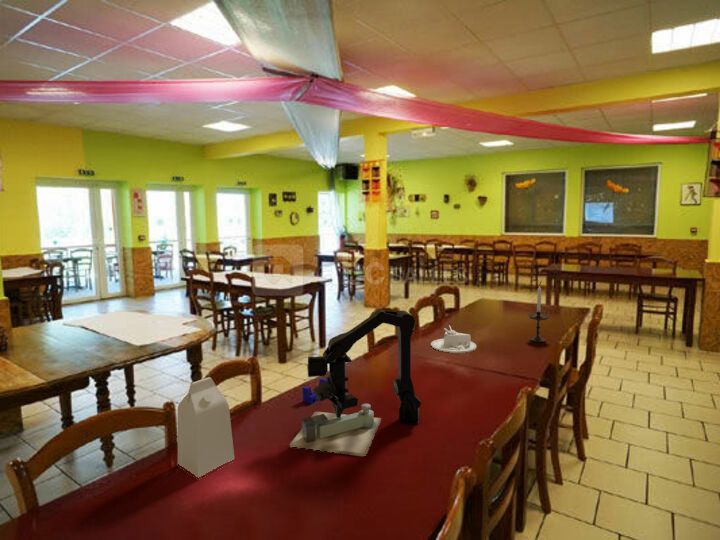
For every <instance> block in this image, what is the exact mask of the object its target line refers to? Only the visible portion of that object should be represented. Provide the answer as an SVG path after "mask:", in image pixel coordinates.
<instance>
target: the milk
mask: <svg viewBox="0 0 720 540" xmlns="http://www.w3.org/2000/svg"><path fill="white" fill-rule="evenodd" d="M234 459H235V451H234V442H233V431H232V423H231V413H230V405H229V402H228V400H227V399H226V397H225V396H224V395H223V393H222V392H221V391H220V389H219V388H218V386H217V385H216V383H215V381H214V380H213V378H212V377H210V376H209V377H205V378H202V379H199V380H196V381H192V382H190V384H189V389H188V392H187V394H186V395H185V397H184V398H183V399H182V400H181V401H179V403H178V406H177V465H178V464H179V465H180V466H182V467H184V468H185V469H187V470H188V471H190V472H191V473H192V474H194V475H195V476H196V477H198V478H199V477H201V476H203V475H205V474H206V473H208V472H210V471H212V470H213V469H216V468H217V467H219V466H221V465H223V464H225V463H227V462H230V461H232V460H234ZM235 460H236V459H235Z"/></svg>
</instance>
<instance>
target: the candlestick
mask: <svg viewBox="0 0 720 540" xmlns="http://www.w3.org/2000/svg"><path fill="white" fill-rule="evenodd" d="M541 284H542V281H539V284H538V288H537V300H536V301H537V304H536V310H535V311H534V312H535V313H531V314H528V319H531V320H535V321H536V326H535V330H536V331H535V333H536V336H531V337H528V338H529V339H528V340H529V341H530V342H532V341H534V342H533V343H537V342H543V343H546V342H547V339H546V338H544V337H541V336H540V333H541V331H540V330H541V326H540V321H546V320H549V318H550V317H549V315H547V314H542V313H543V311H542V310H541V306H542V305H541V304H542V288H541ZM545 341H546V342H545Z"/></svg>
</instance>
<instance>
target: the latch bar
mask: <svg viewBox="0 0 720 540" xmlns="http://www.w3.org/2000/svg"><path fill="white" fill-rule="evenodd" d="M360 407H361V410H359V411H358V412H354V413H351V414H345V415H346V416H342V417H339V418H335V419H331V420H328V422H327V423H323V424H318V425H317V435H318V436H319V438H320V439H321V438H324V437H328V436H332V435H335V434H339V433H342V432H346V431H350V430H353V429H357V428H360V427H370V426H372V425H373V424H374V418H375V417H374V416H375V415H374V414H375V413H374V411H373V410H372V409H371V404H370V403H362V404H361V406H360Z"/></svg>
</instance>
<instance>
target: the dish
mask: <svg viewBox="0 0 720 540" xmlns="http://www.w3.org/2000/svg"><path fill="white" fill-rule="evenodd" d="M448 326H449V330H448V329H447V328H446V327H444V328H443V330H444V331H445V333H444V335H443V338H439V339H434V340H433V341H431V343H430V347H431V346H432V347H431V349H433V348H434V350H435V349H436V351H438V350H439V352H442V351H443V353H447V352H449V353H448V354H465V353H466V352H467V353H472V352H473V350H474V351H475V350H476V349H477V344H476V343H475V342H473V341H472V340H471V334H468V333H461V332H457V331H456V330H454V329H452V327H451V325H450V324H448Z"/></svg>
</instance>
